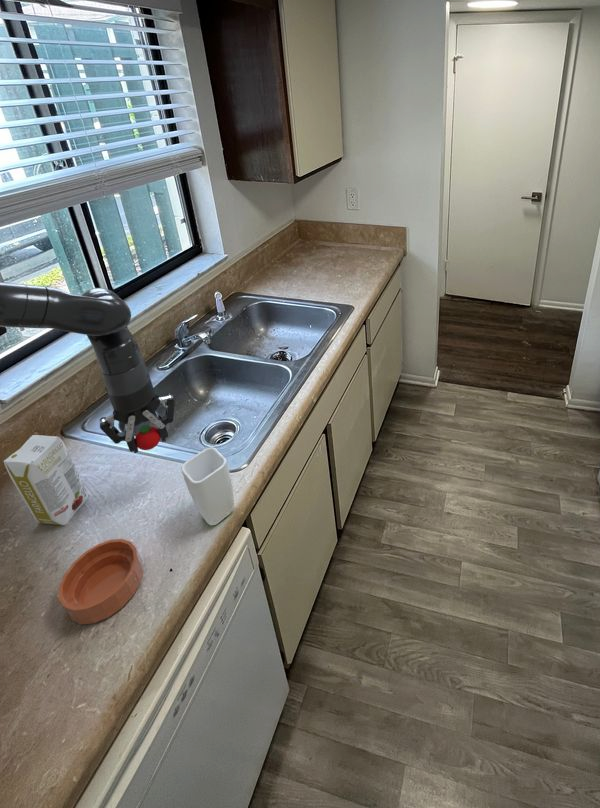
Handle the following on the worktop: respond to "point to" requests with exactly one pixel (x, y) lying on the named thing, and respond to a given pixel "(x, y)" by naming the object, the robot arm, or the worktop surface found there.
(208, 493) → the cup
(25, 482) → the juice carton
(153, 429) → the tomato
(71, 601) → the bowl
